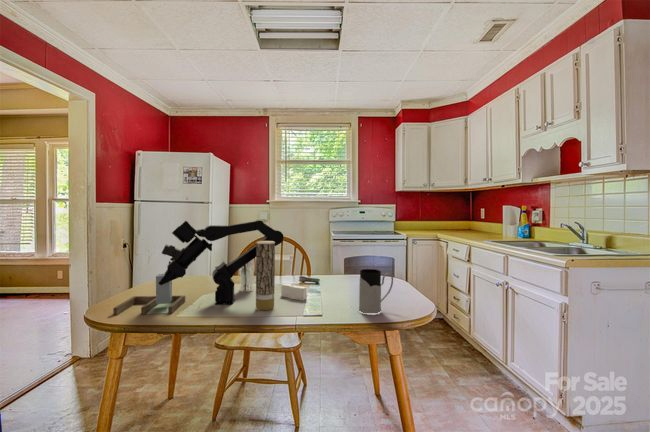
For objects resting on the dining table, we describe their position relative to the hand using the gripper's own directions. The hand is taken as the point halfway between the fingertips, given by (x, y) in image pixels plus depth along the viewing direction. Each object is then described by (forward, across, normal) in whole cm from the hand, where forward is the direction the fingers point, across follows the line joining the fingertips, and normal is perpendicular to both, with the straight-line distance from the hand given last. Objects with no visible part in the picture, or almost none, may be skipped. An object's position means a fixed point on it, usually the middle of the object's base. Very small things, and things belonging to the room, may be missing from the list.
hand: (160, 282), depth 121 cm
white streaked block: (-17, -17, +31) cm, 39 cm away
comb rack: (+9, -1, +4) cm, 10 cm away
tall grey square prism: (+4, 0, +6) cm, 7 cm away
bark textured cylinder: (-18, +13, +32) cm, 40 cm away
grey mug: (-45, +30, +60) cm, 80 cm away
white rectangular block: (-28, +2, +43) cm, 52 cm away
